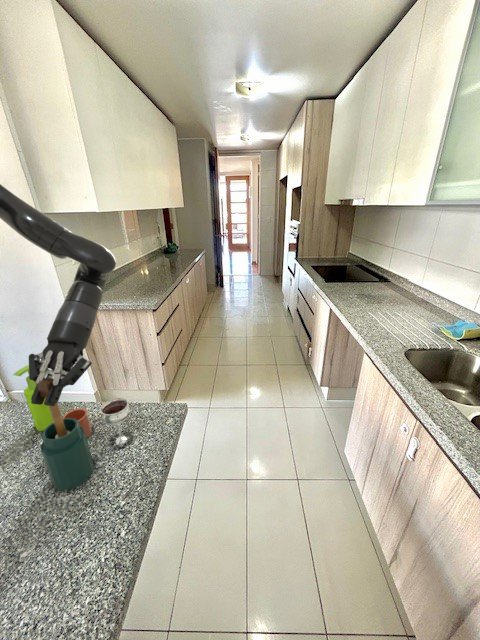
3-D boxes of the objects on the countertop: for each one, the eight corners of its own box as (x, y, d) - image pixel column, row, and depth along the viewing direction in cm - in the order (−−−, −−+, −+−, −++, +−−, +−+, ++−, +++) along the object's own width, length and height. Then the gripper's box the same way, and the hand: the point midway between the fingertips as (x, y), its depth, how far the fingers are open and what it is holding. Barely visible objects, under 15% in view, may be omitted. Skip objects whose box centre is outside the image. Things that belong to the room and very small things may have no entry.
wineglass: (102, 443, 70) (94, 407, 66) (125, 428, 75) (119, 394, 71) (116, 456, 66) (108, 419, 62) (139, 439, 72) (133, 404, 67)
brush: (58, 459, 58) (33, 384, 51) (67, 449, 61) (45, 376, 54) (69, 461, 58) (46, 385, 51) (78, 450, 60) (57, 377, 53)
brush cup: (62, 442, 70) (56, 422, 68) (77, 427, 76) (72, 407, 73) (82, 445, 69) (76, 424, 67) (96, 429, 75) (91, 409, 72)
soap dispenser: (27, 432, 73) (5, 372, 66) (49, 416, 80) (32, 359, 72) (44, 436, 72) (24, 375, 65) (65, 419, 78) (48, 361, 71)
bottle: (44, 488, 58) (26, 441, 53) (71, 458, 66) (58, 413, 61) (77, 494, 57) (63, 445, 52) (101, 462, 65) (90, 417, 60)
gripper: (33, 316, 56) (-6, 399, 49) (92, 320, 54) (60, 406, 47) (58, 329, 63) (27, 403, 56) (111, 333, 61) (86, 410, 54)
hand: (43, 404), depth 52 cm, fingers closed on brush, 2 cm apart
